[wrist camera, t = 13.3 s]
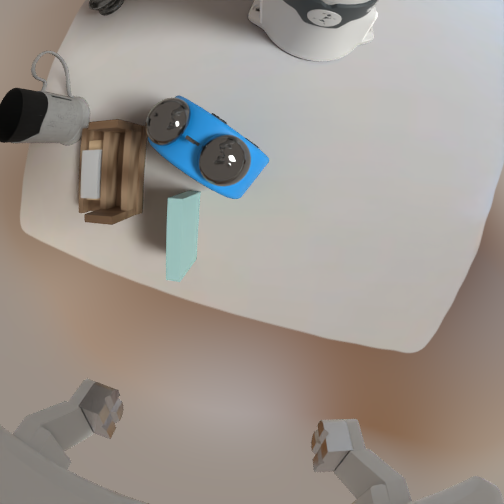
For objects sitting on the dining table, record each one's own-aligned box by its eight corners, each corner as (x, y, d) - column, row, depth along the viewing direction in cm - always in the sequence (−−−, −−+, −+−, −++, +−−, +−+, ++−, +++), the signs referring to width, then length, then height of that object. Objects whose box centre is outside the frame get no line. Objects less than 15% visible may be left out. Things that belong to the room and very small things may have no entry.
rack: (94, 130, 35) (62, 126, 27) (148, 126, 35) (120, 119, 27) (91, 208, 39) (59, 219, 31) (142, 212, 39) (114, 224, 31)
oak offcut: (95, 141, 34) (89, 140, 32) (111, 140, 34) (106, 139, 32) (92, 198, 37) (86, 199, 35) (108, 199, 37) (102, 200, 35)
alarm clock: (170, 141, 35) (117, 131, 21) (196, 106, 34) (155, 75, 19) (243, 194, 37) (228, 212, 23) (271, 159, 35) (274, 154, 21)
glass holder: (49, 139, 35) (-12, 140, 21) (76, 66, 31) (20, 46, 17) (79, 151, 36) (14, 153, 22) (110, 71, 32) (53, 45, 17)
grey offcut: (88, 150, 33) (82, 150, 31) (105, 149, 33) (99, 149, 31) (86, 196, 35) (80, 198, 34) (102, 197, 35) (97, 198, 33)
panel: (188, 190, 37) (167, 197, 29) (200, 191, 37) (182, 199, 29) (185, 257, 40) (166, 279, 32) (196, 258, 40) (180, 281, 32)
